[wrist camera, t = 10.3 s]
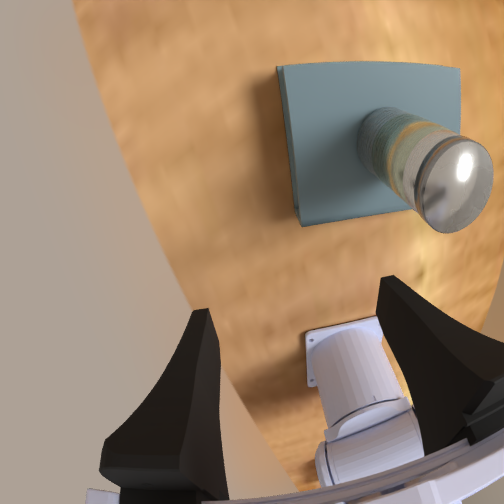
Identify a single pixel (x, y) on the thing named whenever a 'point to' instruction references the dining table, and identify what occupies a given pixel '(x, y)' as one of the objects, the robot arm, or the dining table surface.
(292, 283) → the dining table surface
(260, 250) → the dining table surface
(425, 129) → the tea tin
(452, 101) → the hardcover book
